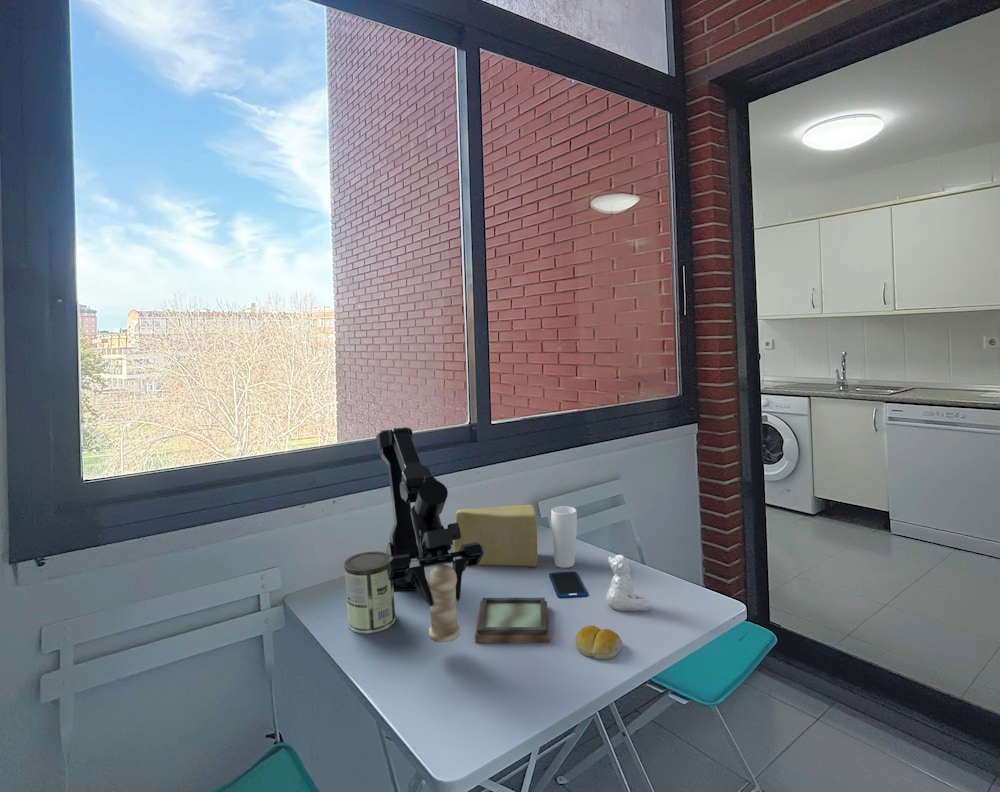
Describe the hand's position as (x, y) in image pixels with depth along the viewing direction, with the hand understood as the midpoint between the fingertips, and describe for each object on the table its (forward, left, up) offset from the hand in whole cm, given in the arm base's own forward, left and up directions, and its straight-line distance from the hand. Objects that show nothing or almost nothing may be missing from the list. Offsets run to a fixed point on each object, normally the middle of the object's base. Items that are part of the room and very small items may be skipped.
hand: (445, 602), depth 114 cm
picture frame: (+12, +13, -11) cm, 22 cm away
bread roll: (+30, +4, -12) cm, 32 cm away
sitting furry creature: (+37, +21, -12) cm, 45 cm away
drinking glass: (+25, +44, -12) cm, 52 cm away
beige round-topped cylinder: (-1, +1, -7) cm, 7 cm away
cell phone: (+25, +32, -12) cm, 43 cm away
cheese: (+7, +46, -12) cm, 48 cm away
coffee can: (-19, +14, -12) cm, 26 cm away
